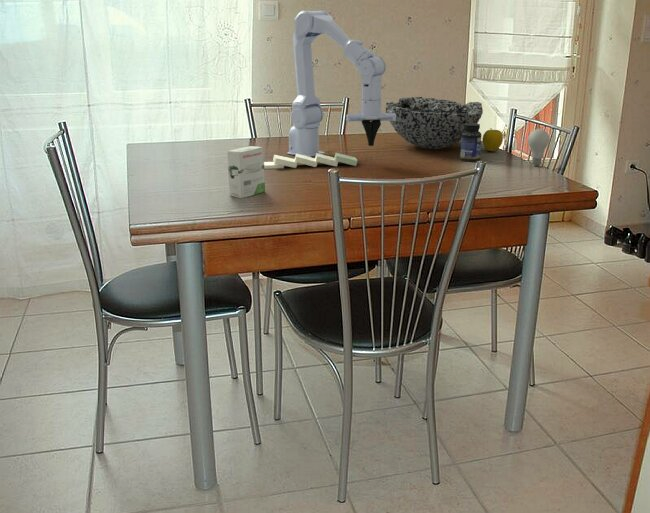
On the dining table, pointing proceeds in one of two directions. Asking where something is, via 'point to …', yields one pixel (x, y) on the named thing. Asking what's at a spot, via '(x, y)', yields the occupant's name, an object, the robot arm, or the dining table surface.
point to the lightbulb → (538, 145)
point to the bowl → (432, 120)
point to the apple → (492, 139)
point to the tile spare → (345, 159)
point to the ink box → (246, 171)
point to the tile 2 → (284, 161)
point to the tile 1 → (272, 165)
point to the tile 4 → (326, 159)
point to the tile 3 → (305, 160)
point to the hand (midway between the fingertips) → (370, 145)
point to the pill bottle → (470, 143)
